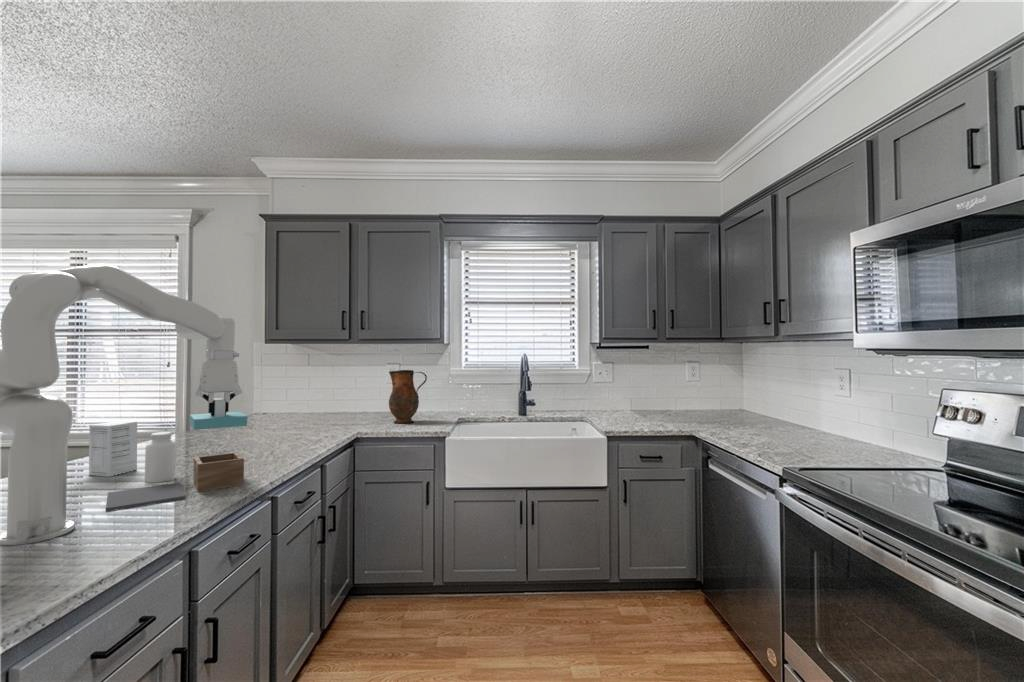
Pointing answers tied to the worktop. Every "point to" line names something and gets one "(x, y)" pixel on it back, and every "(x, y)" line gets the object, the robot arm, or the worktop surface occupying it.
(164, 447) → the pill bottle
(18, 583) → the worktop surface
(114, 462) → the supplement box
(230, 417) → the lid
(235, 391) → the robot arm
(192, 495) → the worktop surface
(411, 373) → the pitcher
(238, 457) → the crate
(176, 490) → the mat
